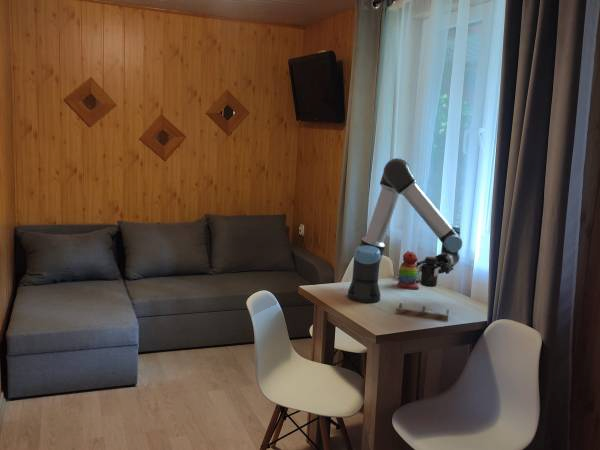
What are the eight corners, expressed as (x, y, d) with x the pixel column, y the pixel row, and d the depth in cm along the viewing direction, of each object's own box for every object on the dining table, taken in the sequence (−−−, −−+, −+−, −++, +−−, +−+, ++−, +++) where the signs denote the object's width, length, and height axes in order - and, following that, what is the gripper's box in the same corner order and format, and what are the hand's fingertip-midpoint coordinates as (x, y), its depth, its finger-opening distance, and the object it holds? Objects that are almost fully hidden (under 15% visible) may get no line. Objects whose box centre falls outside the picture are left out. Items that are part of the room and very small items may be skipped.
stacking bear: (419, 290, 290) (423, 254, 287) (398, 288, 290) (402, 253, 287) (415, 284, 300) (418, 250, 297) (395, 283, 300) (398, 248, 297)
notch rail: (397, 313, 249) (397, 308, 249) (399, 307, 258) (399, 302, 258) (447, 320, 244) (448, 316, 244) (448, 314, 253) (448, 309, 253)
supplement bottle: (433, 288, 245) (436, 260, 243) (418, 285, 248) (420, 257, 247) (439, 285, 251) (441, 257, 249) (423, 282, 254) (426, 255, 252)
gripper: (463, 273, 260) (448, 284, 240) (420, 266, 269) (403, 276, 250) (465, 257, 258) (450, 266, 239) (422, 250, 268) (404, 258, 248)
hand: (426, 271), depth 244 cm, fingers closed on supplement bottle, 7 cm apart
